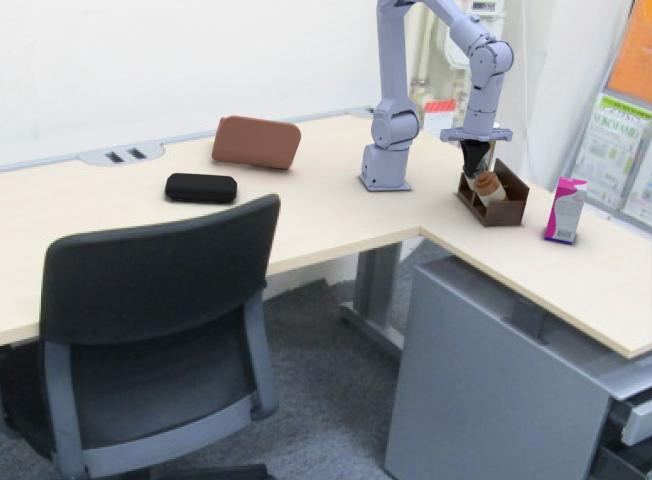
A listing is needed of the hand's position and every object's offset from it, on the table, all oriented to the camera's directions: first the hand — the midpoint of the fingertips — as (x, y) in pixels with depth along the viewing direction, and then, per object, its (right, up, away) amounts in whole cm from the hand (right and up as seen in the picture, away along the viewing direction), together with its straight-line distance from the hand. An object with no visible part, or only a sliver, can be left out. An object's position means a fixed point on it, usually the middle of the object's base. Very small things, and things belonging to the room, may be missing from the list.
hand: (468, 175), depth 179 cm
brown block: (-44, +10, +24) cm, 51 cm away
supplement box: (+19, -12, +2) cm, 23 cm away
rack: (+6, -5, +10) cm, 13 cm away
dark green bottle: (+6, 0, +12) cm, 13 cm away
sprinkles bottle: (+7, +4, +23) cm, 24 cm away
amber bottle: (+7, -5, +6) cm, 11 cm away
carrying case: (-55, -2, +7) cm, 55 cm away
